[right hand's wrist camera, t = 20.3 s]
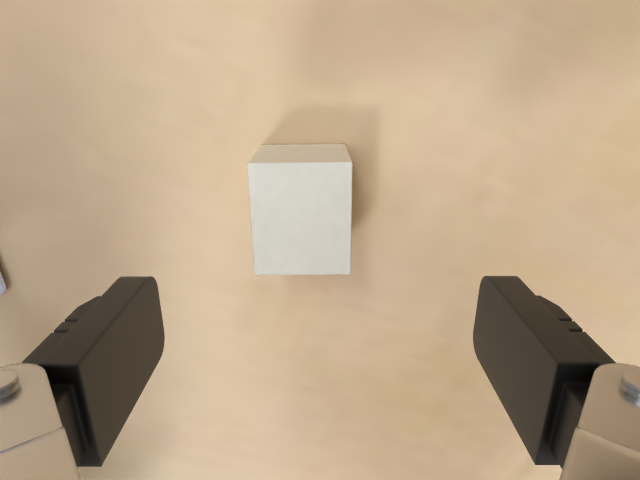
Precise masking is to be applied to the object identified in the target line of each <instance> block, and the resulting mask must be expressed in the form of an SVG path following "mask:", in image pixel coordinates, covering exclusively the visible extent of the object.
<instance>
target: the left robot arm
mask: <svg viewBox="0 0 640 480" xmlns="http://www.w3.org/2000/svg"><path fill="white" fill-rule="evenodd" d="M5 290H6V285H5V282H4V280H3V277H2V274H1V272H0V295H1V294H2V293H4V292H5Z"/></svg>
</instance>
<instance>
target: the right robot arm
mask: <svg viewBox="0 0 640 480" xmlns="http://www.w3.org/2000/svg"><path fill="white" fill-rule="evenodd" d="M473 342H474V349H475V353H476V356H477V358H478V360H479V362H480V364H481V366H482V367H483V369H484V371H485V373H486V375H487V377H488V378H489V380H490V382H491V384H492V386H493V388H494V390H495V391H496V393H497V395H498V397H499V399H500V401H501V402H502V404H503V406H504V408H505V410H506V412H507V414H508V415H509V417H510V419H511V421H512V423H513V425H514V426H515V428H516V430H517V432H518V434H519V436H520V437H521V439H522V441H523V443H524V445H525V447H526V449H527V450H528V452H529V454H530V456H531V458H532V460H533V461H534V463H535V465H560V466H561V468H562V473H561V476H560V479H559V480H640V367H638V366H634V365H629V364H621V363H616V362H615V361H614V360H613V359H612V358H611V357H610V356H609V355H608V354H607V353H606V352H605V351H604V350H603V349H602V348H601V347H600V346H599V345H598V344H597V343H595V342H594V341H593V340H592V339H591V338H590V337H589V336H588V335H587V334H586V333H585V332H582V329H581V328H580V327H579V326H578V325H577V324H576V323H575V322H574V321H572V319H571V318H570V317H569V316H568V315H567V314H566V313H565V312H564V311H563V310H562V309H561V308H560V307H559V306H558V305H556V304H554V303H552V302H550V301H549V300H547V299H545V298H543V297H541V296H536V295H535V294H534V293H533V292H532V291H531V290H530V289H529V288H528V287H527V286H526V285H525V284H524V283H523V282H522V281H521V280H520V278H518V277H517V276H484V277H483V279H482V281H481V284H480V289H479V296H478V303H477V310H476V317H475V324H474V332H473ZM163 348H164V327H163V320H162V313H161V306H160V300H159V293H158V286H157V282H156V280H155V278H153V277H120V278H118V279H117V280H116V282H115V283H114V284H113V285H112V286H111V287H110V288H109V289H108V290H107V291H106V292H105V293H104V294H103V295H102V296H97V297H95V298H93V299H92V300H90V301H88V302H86V303H84V304H83V305H81V306H79V307H77V308H76V309H75V310H74V311H73V312H72V313H71V314H70V315H69V316H68V317H67V318H66V319H65V322H62V323H61V324H60V325H59V326H58V327H57V328H56V329H55V330H54V333H51V334H50V335H49V336H48V337H47V338H46V339H45V340H44V341H43V342H42V343H41V344H40V345H39V346H38V347H37V348H36V349H35V350H34V351H33V352H32V353H31V354H30V355H29V356H28V357H27V358H26V359H25V360H24V361H23V362H22V363H19V364H11V365H6V366H2V367H0V480H81V479H80V476H79V473H78V470H77V467H101V466H102V464H103V462H104V460H105V459H106V457H107V455H108V453H109V451H110V449H111V448H112V446H113V444H114V442H115V440H116V438H117V437H118V435H119V433H120V431H121V429H122V428H123V426H124V424H125V422H126V420H127V418H128V417H129V415H130V413H131V411H132V409H133V408H134V406H135V404H136V402H137V400H138V398H139V397H140V395H141V393H142V391H143V389H144V387H145V386H146V384H147V382H148V380H149V378H150V377H151V375H152V373H153V371H154V369H155V367H156V366H157V364H158V362H159V360H160V358H161V356H162V353H163Z"/></svg>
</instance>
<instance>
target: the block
mask: <svg viewBox="0 0 640 480" xmlns="http://www.w3.org/2000/svg"><path fill="white" fill-rule="evenodd" d="M247 170H248V185H249V200H250V215H251V230H252V246H253V261H254V274H255V275H326V274H350V273H351V223H352V160H351V158H350V155H349V152H348V149H347V147H346V144H276V145H261V146H260V147H259V149H258V150H257V151H256V153H255V154H254V155H253V156H252V158H251V159H250V160H249V162H248V163H247Z"/></svg>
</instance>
